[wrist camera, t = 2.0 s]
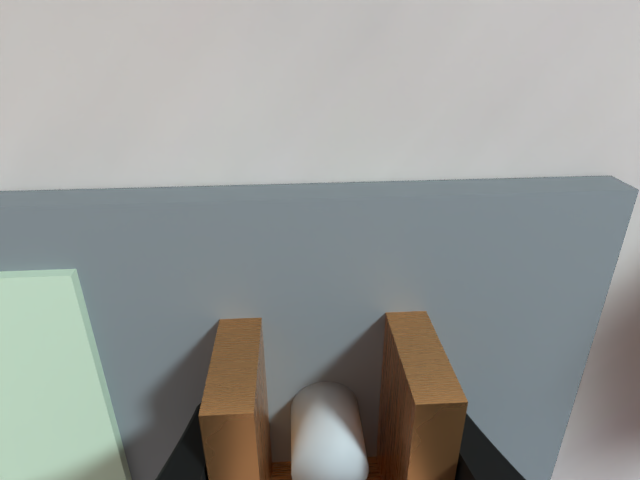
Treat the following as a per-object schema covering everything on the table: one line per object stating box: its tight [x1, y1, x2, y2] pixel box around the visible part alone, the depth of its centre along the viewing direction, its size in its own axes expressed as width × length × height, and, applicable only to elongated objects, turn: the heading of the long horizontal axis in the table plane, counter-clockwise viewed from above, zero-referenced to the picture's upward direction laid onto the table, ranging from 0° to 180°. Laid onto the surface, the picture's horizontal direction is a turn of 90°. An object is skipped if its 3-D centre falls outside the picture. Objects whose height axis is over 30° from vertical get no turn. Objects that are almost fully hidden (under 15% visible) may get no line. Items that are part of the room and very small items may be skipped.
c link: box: [199, 311, 468, 480], centre depth 11 cm, size 6×5×3 cm
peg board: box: [0, 176, 639, 480], centre depth 12 cm, size 12×24×3 cm, turn 90°
